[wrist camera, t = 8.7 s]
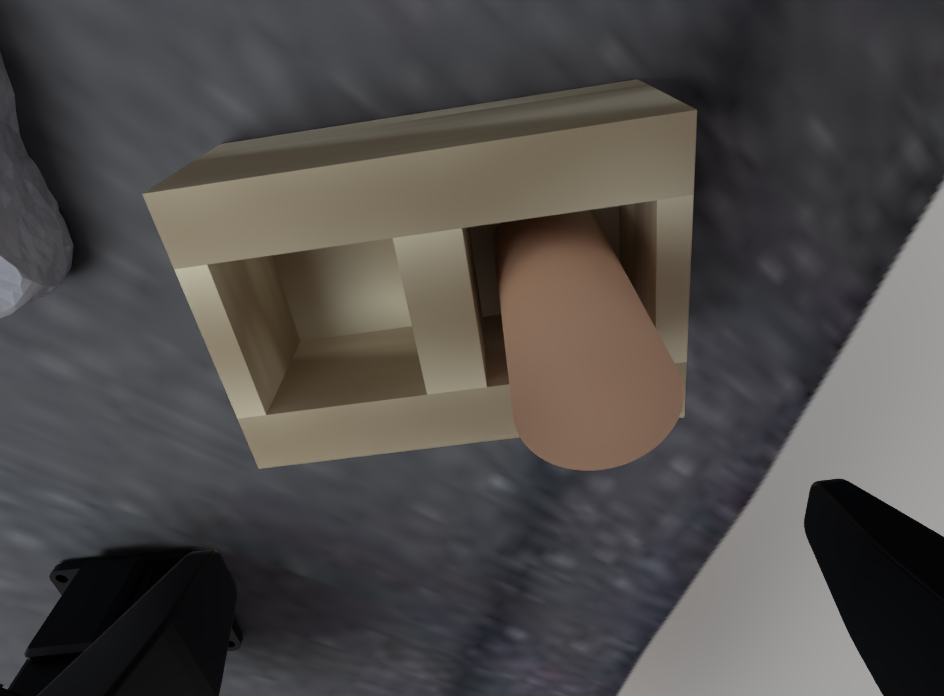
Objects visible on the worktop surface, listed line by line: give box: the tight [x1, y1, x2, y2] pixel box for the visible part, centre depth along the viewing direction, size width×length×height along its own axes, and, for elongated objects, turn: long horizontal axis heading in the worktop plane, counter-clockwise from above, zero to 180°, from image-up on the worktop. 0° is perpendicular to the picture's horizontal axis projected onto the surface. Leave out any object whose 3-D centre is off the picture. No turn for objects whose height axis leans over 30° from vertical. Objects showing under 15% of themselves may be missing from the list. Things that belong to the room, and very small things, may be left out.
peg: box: [494, 210, 684, 471], centre depth 15 cm, size 3×3×8 cm
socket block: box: [142, 79, 697, 469], centre depth 17 cm, size 8×12×5 cm, turn 98°
